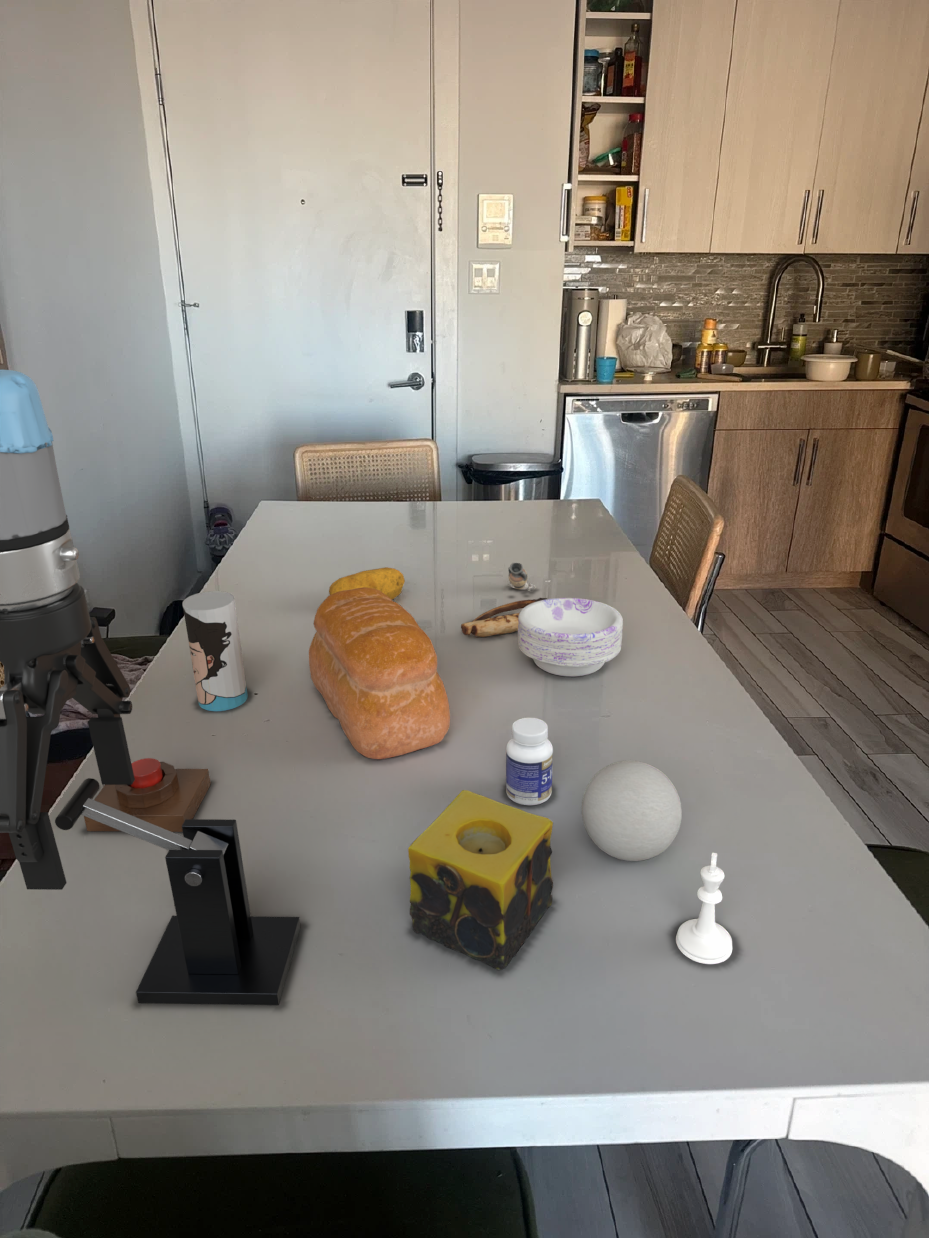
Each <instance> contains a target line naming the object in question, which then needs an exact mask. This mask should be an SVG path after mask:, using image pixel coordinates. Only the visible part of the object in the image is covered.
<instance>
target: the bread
mask: <svg viewBox="0 0 929 1238" xmlns="http://www.w3.org/2000/svg"><path fill="white" fill-rule="evenodd" d="M313 627H314V629H315V633H314V635H313V638H312V640H311V643H310V645H309V647H308V664H309V672H310V673H309V674H310V679H311V680H312V683H313V686H314V687H315V688H316V690H317V691H318V692H319V693H320V694H321V696H322V698H323V699H324V701H325V703H326V706H327V708H328V709H329V711H330V713H331V714H332V715H333V717H334V718H335V719H337V720H338V721H339V723H340V726H341V729H342V730H343V732H344V734H345V736H346V737H347V739H348V741H349V742H350V744H351V745H352V747H353V749H355V750H356V752H358V753H359V754H361V755H362V756H364V757H365V758H368V759H373V760H384V759H390V758H394V757H398V756H402V755H406V754H410V753H413V752H416V751H419V750H423V749H426V748H430V747H432V746H434V745H437V744H439V743H441V742H442V741H443V740H444V738H445V736H446V735H447V733H448V731H449V729H450V725H451V713H450V711H451V710H450V703H449V698H448V695H447V691H446V688H445V684H444V681H443V680H442V678H441V677H440V674H439V672H438V655H437V653H436V650H435V648H434V645H433V642H432V639H431V638H430V637H429V636H428V634H427V633H426V632H425V631H424V630H423V629H422V628H421V626H420V625H419V624H418V622H417V620H416V619H415V618H414V617H413V615H412V614H411V613H410V612H409V611H407V609H405V608H404V607H403V606H401V605H400V604H399V603H398V602H396V601H394V600H391V598H390V597H388V596H387V595H385V594H384V593H382V592H381V591H379V590H377V589H373V588H366V587H362V588H356V589H351V590H344V591H339V592H336V593H333V594H331V595H330V594H329V595H328V596H326V598H325V599H324V600H323V601H322V602H321V603H320V605H319V606H318V608H317V609H316V611H315V615H314V619H313Z"/></svg>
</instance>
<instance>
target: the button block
mask: <svg viewBox="0 0 929 1238" xmlns="http://www.w3.org/2000/svg"><path fill="white" fill-rule="evenodd" d="M159 762H160V764H161V769H162V775H163V778H162V780H161V781H160V782H159V783H157V784H156V785H154V786H150V787H147V788H133V787H131V786H130V785H103V786H102V788H100V789H101V790H99V791H98V794H96V795H95V797H94V798H93V800H95V801H98V802H100V803H102V804H105V805H107V806H110V807H112V808H115V809H117V810H119V811H122V812H124V813H127V814H129V815H132V816H134V817H136V818H139V819H141V820H144V821H146V822H149V823H151V824H154V825H156V826H158V827H161V828H163V829H166V830H168V831H171V832H173V833H183V831H182V825H183V823H184V821H185V819H194V817H195V816H196V813H197V812H198V810H199V808H200V807H201V805H202V802H203V800H204V798H205V796H206V794H207V793H208V790H209V789H210V787H211V785H212V782H211V776H210V771H209V770H210V769H209V768H175V766H174V765H172V764H170V763H168V762H165V761H159ZM83 820H84V824H85V827H86V832H121V831H120V830H117V829H115V828H113V827H110V826H108V825H105V824H103V823H100V822H98V821H95V820H93V819H90V818H88V817H86V816H83Z"/></svg>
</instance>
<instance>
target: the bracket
mask: <svg viewBox="0 0 929 1238" xmlns="http://www.w3.org/2000/svg"><path fill="white" fill-rule="evenodd" d="M182 831H183V832H182V836H183V837H185V838H188V839H190V840H192V841H193V839H194V837H195V835H196V833H197V831H200V832H202V833H205V834H207V835H210V836H212V837H214V838H217V839H219V840H222V841H224V842H227V843H228V846H227V849H226V851H225V853H224V856H223V851H222V850H167V853H166V855H165V856H164V858H165V859H164V860H165V863H166V868H167V869H166V870H167V873H168V879H169V884H170V889H171V894H172V901H173V904H174V910H175V914H176V915H171V917H170V919H169V921H168V924H167V926H166V928H165V929H164V931H163V934H162V936H161V938H160V941H159V942H158V945H157V947H156V948H155V951H154V953H153V954H152V957H151V959H150V961H149V963H148V966H147V968H146V969H145V971H144V974H143V976H142V978H141V980H140V982H139V985H138V986H137V989H136V991H135V995H136V999H137V1003H138V1004H163V1005H165V1004H167V1005H175V1004H176V1005H235V1006H236V1005H237V1006H240V1005H242V1006H243V1005H244V1006H279V1005H280V1001H281V998H282V995H283V991H284V987H285V984H286V980H287V977H288V973H289V971H290V970H289V969H290V967H291V962H292V960H293V956H294V952H295V949H296V945H297V942H298V938H299V934H300V931H301V919H300V916H261V915H260V916H256V915H253V916H252V915H251V909H250V902H249V895H248V889H247V882H246V876H245V869H244V863H243V858H242V857H243V856H242V850H241V844H240V843H241V842H240V838H239V830H238V823H237V819H223V818H222V819H221V818H220V819H213V818H212V819H208V818H207V819H206V818H205V819H204V818H203V819H202V818H201V819H199V818H198V819H197V818H195V819H194V818H193V819H185V821H184V823H183V825H182Z"/></svg>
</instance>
